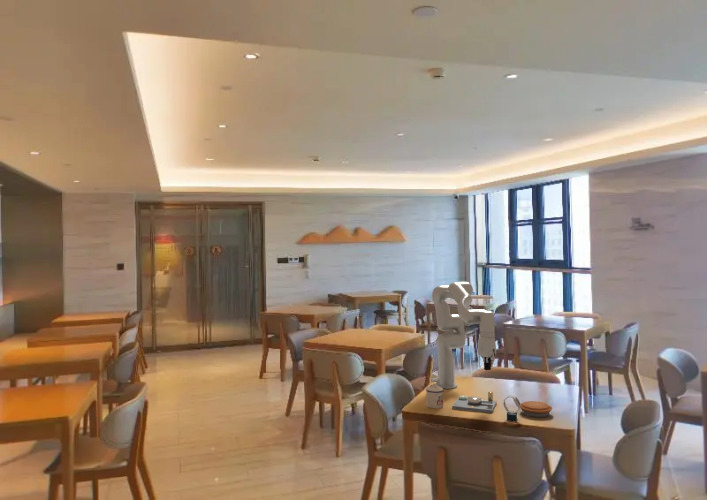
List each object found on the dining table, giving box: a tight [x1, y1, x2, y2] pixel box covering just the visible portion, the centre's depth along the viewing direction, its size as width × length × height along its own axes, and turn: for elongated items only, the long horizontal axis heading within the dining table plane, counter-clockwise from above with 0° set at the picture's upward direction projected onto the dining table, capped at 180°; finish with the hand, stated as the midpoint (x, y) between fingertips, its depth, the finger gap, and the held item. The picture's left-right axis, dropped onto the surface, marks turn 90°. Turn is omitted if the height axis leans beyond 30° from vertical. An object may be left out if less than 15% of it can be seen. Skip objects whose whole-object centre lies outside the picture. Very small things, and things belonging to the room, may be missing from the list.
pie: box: [520, 400, 553, 418], centre depth 259 cm, size 15×16×5 cm
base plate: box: [451, 395, 497, 414], centre depth 272 cm, size 20×18×3 cm
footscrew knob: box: [467, 391, 494, 404], centre depth 271 cm, size 13×7×6 cm, turn 68°
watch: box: [502, 395, 521, 422], centre depth 251 cm, size 6×8×11 cm
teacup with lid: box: [425, 382, 444, 409], centre depth 274 cm, size 12×9×12 cm
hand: (487, 369), depth 275 cm, fingers closed
